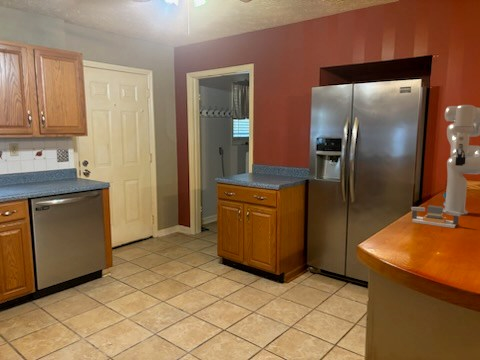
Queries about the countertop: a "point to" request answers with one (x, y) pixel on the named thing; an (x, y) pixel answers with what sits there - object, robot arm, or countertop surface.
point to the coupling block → (435, 212)
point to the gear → (445, 197)
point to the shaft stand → (435, 221)
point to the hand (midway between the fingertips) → (460, 164)
